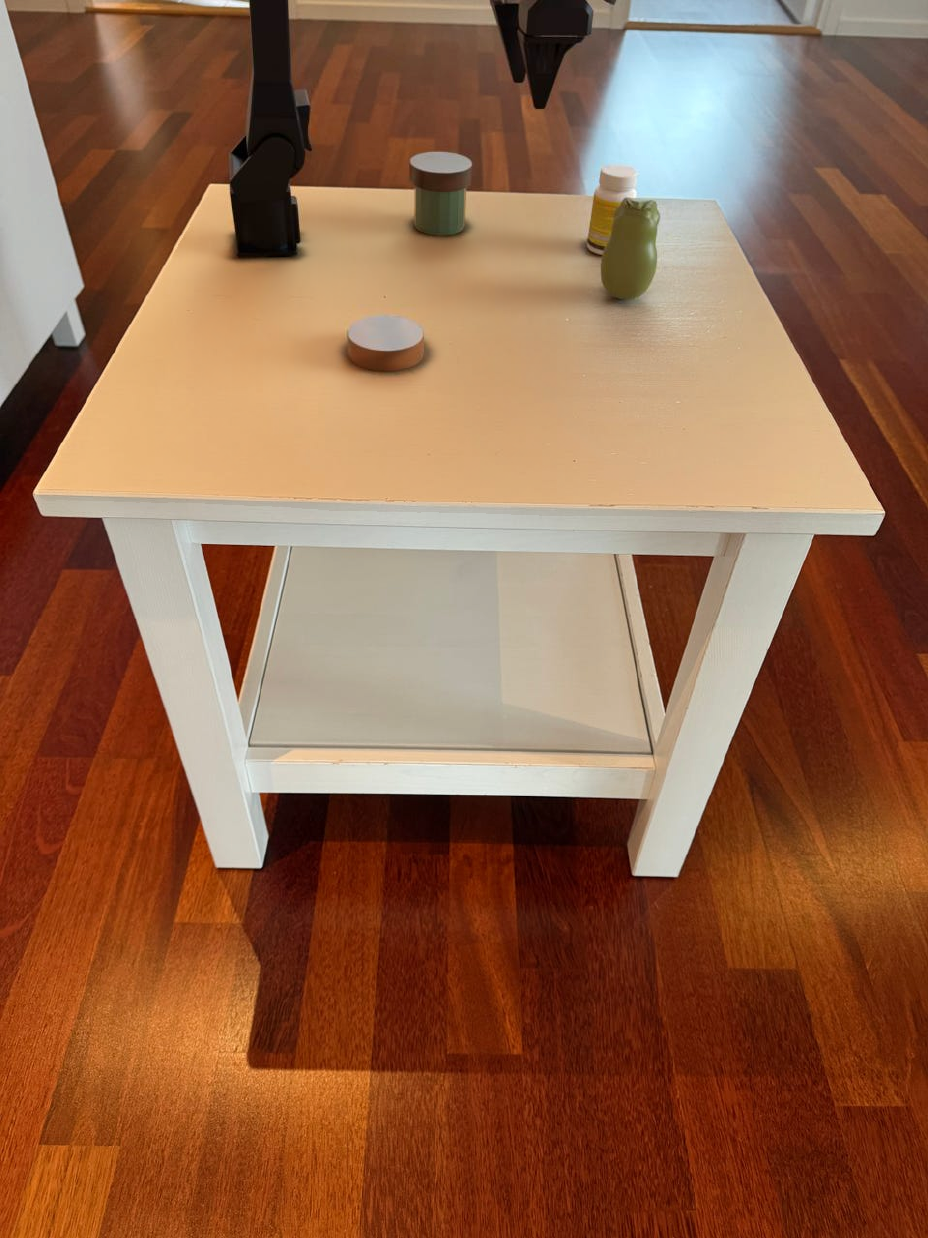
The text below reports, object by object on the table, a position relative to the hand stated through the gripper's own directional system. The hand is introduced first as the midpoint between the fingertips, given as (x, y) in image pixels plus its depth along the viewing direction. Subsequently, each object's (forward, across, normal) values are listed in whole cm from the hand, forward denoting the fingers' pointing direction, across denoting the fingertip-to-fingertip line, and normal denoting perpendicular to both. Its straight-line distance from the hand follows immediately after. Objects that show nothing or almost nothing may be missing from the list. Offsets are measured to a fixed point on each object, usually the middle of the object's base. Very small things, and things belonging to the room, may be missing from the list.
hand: (528, 95), depth 95 cm
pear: (+15, -16, -8) cm, 23 cm away
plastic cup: (+15, +4, +8) cm, 17 cm away
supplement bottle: (+15, -4, -10) cm, 18 cm away
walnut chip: (+10, +4, +8) cm, 13 cm away
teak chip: (+15, -25, +18) cm, 34 cm away
